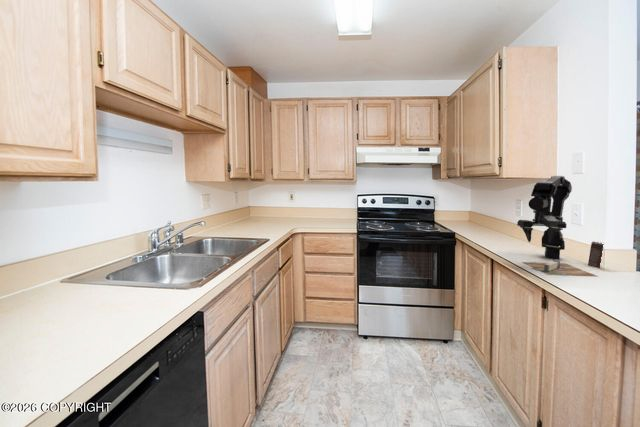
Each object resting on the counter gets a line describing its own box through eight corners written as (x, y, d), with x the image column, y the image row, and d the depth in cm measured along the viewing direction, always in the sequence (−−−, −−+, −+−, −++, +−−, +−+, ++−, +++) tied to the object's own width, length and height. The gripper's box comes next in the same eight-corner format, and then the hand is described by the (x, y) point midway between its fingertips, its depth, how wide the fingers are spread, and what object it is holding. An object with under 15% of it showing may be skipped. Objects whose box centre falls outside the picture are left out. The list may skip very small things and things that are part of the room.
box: (600, 270, 142) (603, 244, 141) (587, 267, 145) (590, 242, 144) (601, 267, 146) (604, 242, 145) (588, 265, 149) (591, 241, 148)
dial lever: (553, 265, 142) (554, 259, 142) (560, 267, 140) (561, 260, 139) (541, 270, 135) (542, 263, 134) (549, 271, 133) (549, 264, 132)
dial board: (518, 264, 150) (518, 261, 150) (564, 265, 149) (564, 262, 148) (545, 277, 130) (545, 274, 130) (599, 279, 128) (599, 276, 128)
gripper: (532, 210, 135) (529, 245, 137) (577, 211, 134) (573, 246, 136) (518, 208, 146) (515, 240, 148) (559, 208, 145) (556, 241, 147)
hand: (539, 242), depth 144 cm, fingers open, 9 cm apart
